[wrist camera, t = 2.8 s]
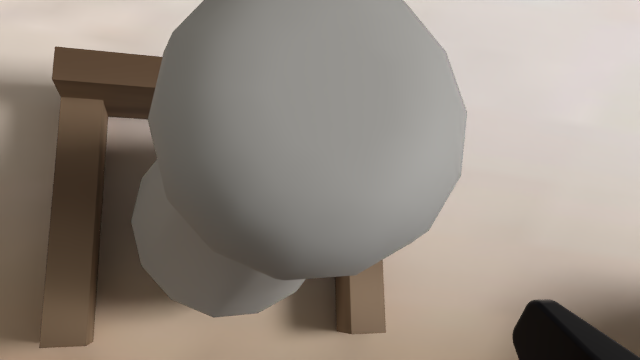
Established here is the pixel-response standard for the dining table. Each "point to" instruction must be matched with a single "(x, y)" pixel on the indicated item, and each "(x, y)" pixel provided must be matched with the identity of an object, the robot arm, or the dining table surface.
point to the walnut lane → (87, 193)
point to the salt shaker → (293, 147)
